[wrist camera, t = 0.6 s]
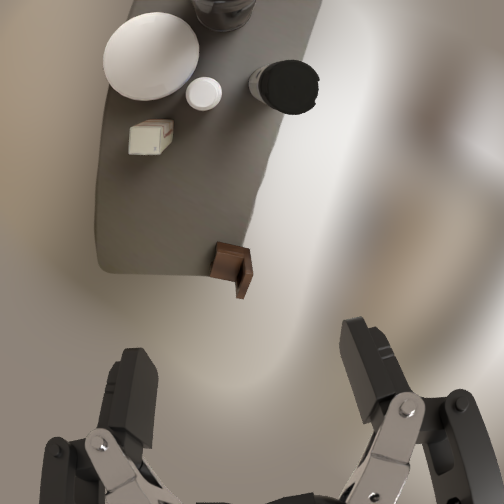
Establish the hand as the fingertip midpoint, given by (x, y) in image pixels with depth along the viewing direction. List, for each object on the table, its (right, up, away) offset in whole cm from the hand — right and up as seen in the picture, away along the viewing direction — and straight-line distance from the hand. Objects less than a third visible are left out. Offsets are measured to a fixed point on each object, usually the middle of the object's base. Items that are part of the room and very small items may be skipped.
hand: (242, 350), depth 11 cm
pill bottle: (-7, +31, +33) cm, 46 cm away
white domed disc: (-15, +33, +22) cm, 42 cm away
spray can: (+3, +33, +33) cm, 47 cm away
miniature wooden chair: (-4, +3, +52) cm, 52 cm away
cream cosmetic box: (-16, +26, +36) cm, 47 cm away
